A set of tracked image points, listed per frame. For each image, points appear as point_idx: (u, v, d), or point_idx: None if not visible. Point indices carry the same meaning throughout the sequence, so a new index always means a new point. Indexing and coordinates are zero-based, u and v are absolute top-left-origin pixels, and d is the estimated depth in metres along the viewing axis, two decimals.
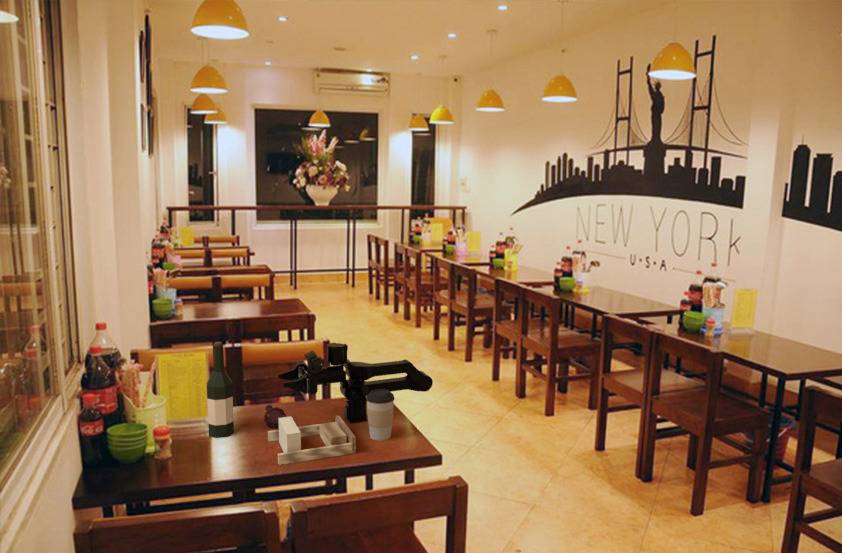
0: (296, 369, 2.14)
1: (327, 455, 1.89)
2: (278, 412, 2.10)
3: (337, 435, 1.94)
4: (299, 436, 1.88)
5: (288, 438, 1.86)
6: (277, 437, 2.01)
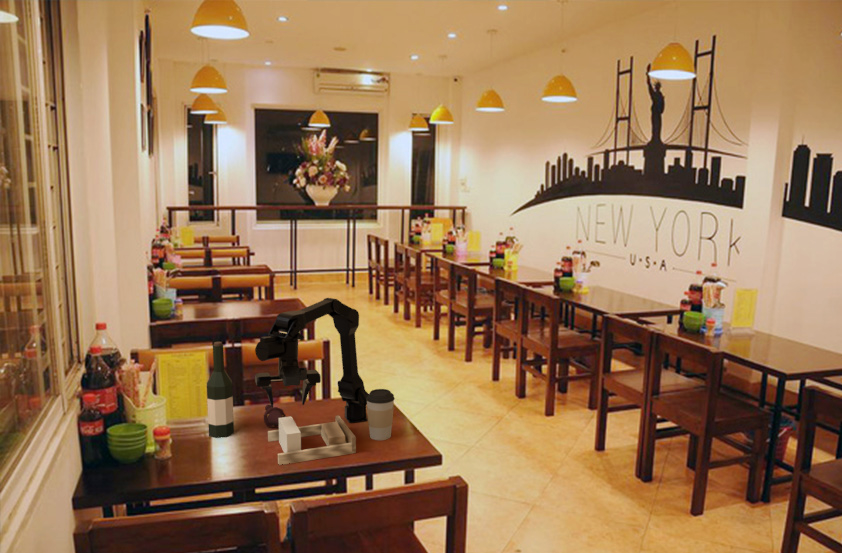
0: (271, 388, 1.89)
1: (327, 455, 1.89)
2: (277, 412, 2.11)
3: (336, 435, 1.94)
4: (299, 436, 1.88)
5: (288, 438, 1.86)
6: (277, 437, 2.01)
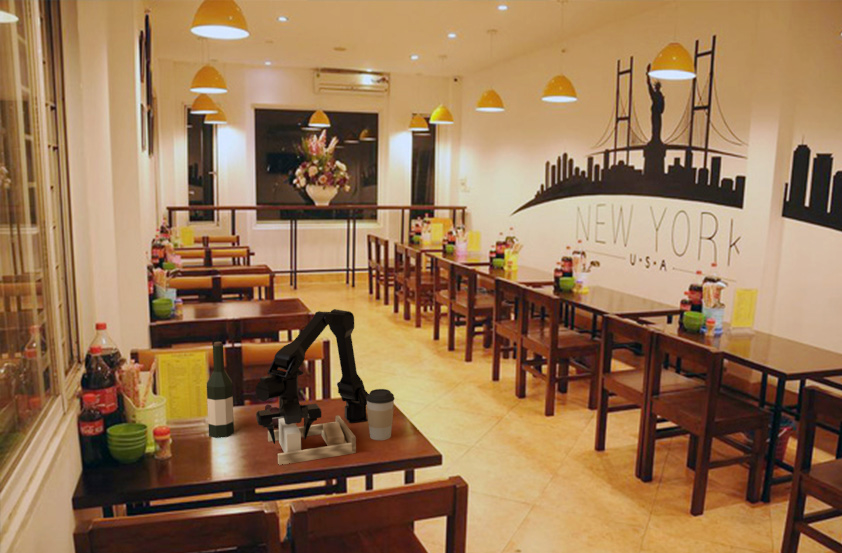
0: None
1: (327, 455, 1.89)
2: None
3: (335, 435, 1.94)
4: (299, 436, 1.88)
5: (288, 438, 1.86)
6: (277, 437, 2.01)
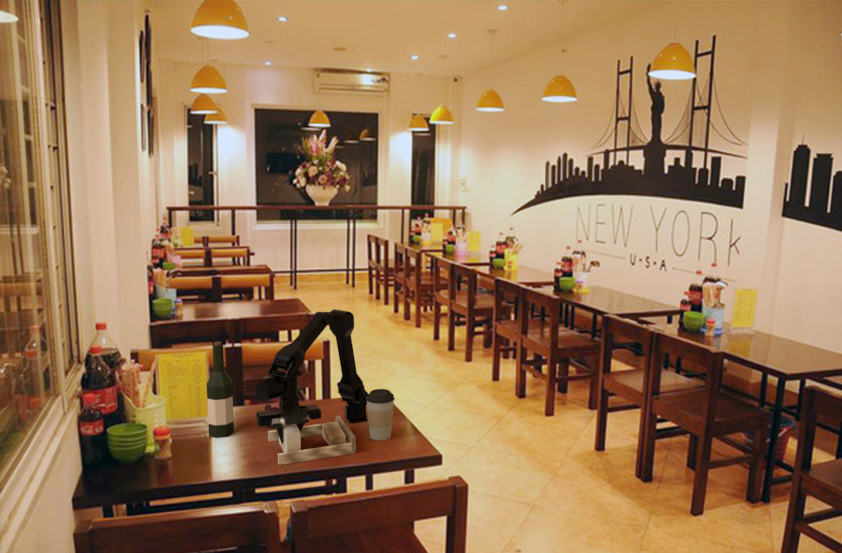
0: (281, 425, 1.91)
1: (327, 455, 1.89)
2: (276, 412, 2.11)
3: (336, 435, 1.94)
4: (299, 436, 1.88)
5: (288, 438, 1.86)
6: (277, 437, 2.01)
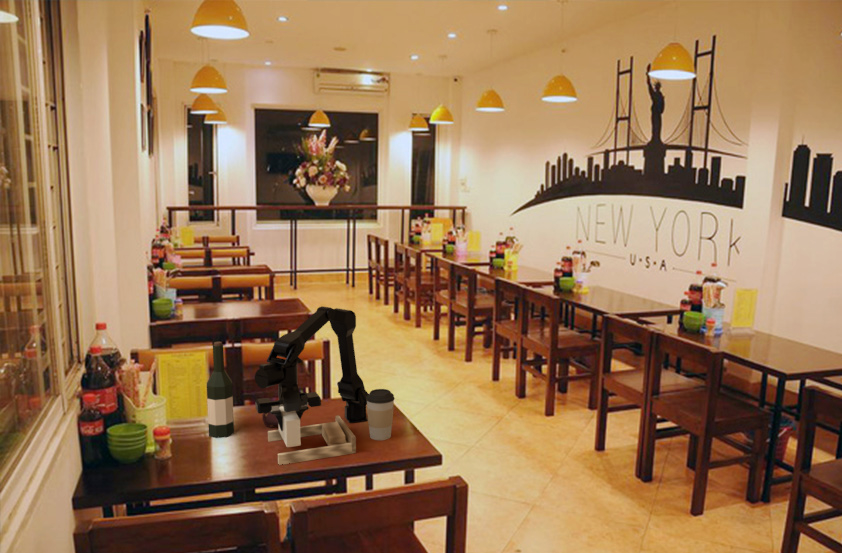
0: (280, 412, 1.90)
1: (327, 455, 1.89)
2: None
3: (336, 435, 1.94)
4: (299, 423, 1.87)
5: (287, 425, 1.86)
6: (277, 437, 2.01)
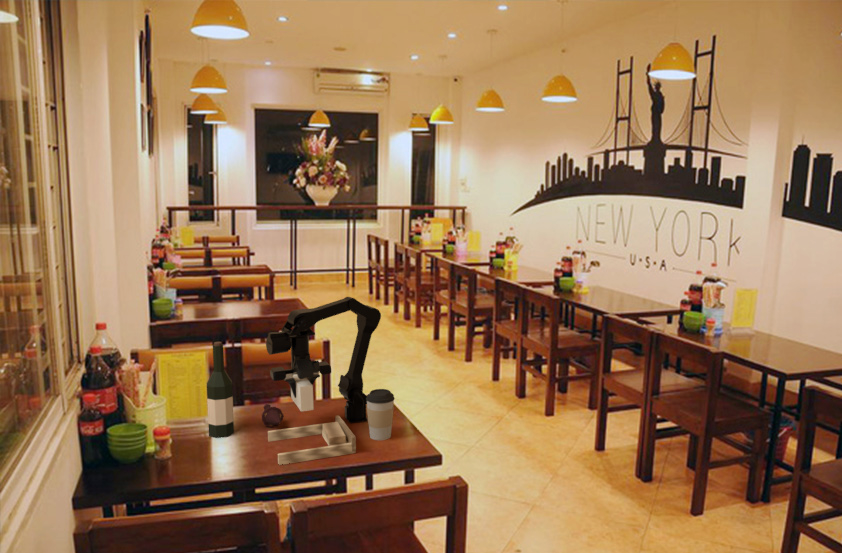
0: None
1: (327, 455, 1.89)
2: (275, 411, 2.11)
3: (336, 435, 1.94)
4: (312, 389, 2.01)
5: (301, 391, 2.00)
6: (277, 437, 2.01)
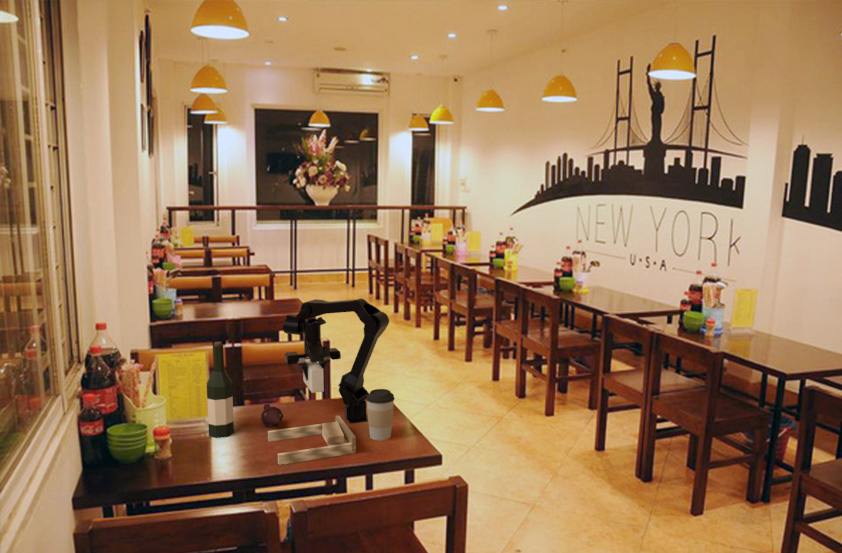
0: None
1: (327, 455, 1.89)
2: (275, 411, 2.11)
3: (335, 435, 1.94)
4: (322, 372, 2.18)
5: (313, 373, 2.17)
6: (277, 437, 2.01)
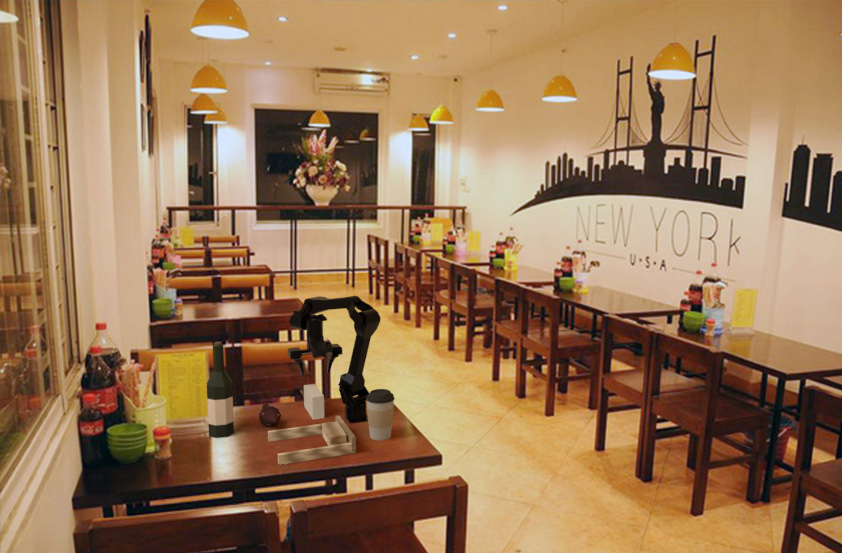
0: None
1: (327, 455, 1.89)
2: (272, 411, 2.12)
3: (337, 434, 1.95)
4: (323, 399, 2.20)
5: (313, 400, 2.18)
6: (277, 437, 2.01)
